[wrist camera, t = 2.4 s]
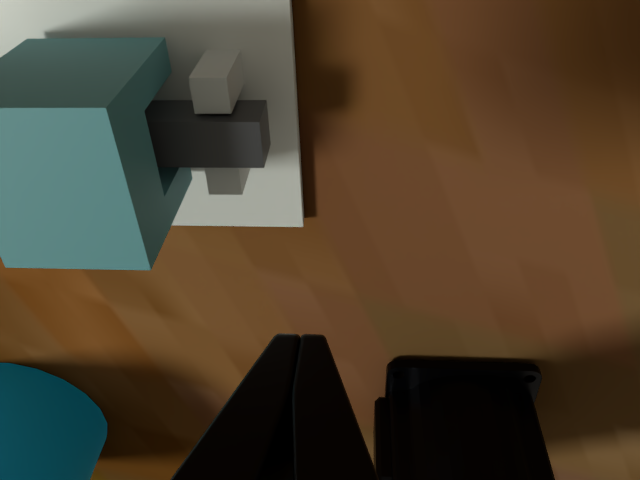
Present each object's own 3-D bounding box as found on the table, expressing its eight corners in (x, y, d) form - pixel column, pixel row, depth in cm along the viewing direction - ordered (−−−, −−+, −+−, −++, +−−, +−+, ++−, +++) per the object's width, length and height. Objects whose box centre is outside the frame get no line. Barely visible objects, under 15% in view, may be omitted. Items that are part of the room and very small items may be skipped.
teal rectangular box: (165, 37, 16) (105, 108, 12) (192, 178, 19) (150, 270, 15) (27, 38, 16) (-71, 108, 13) (74, 177, 19) (5, 267, 15)
